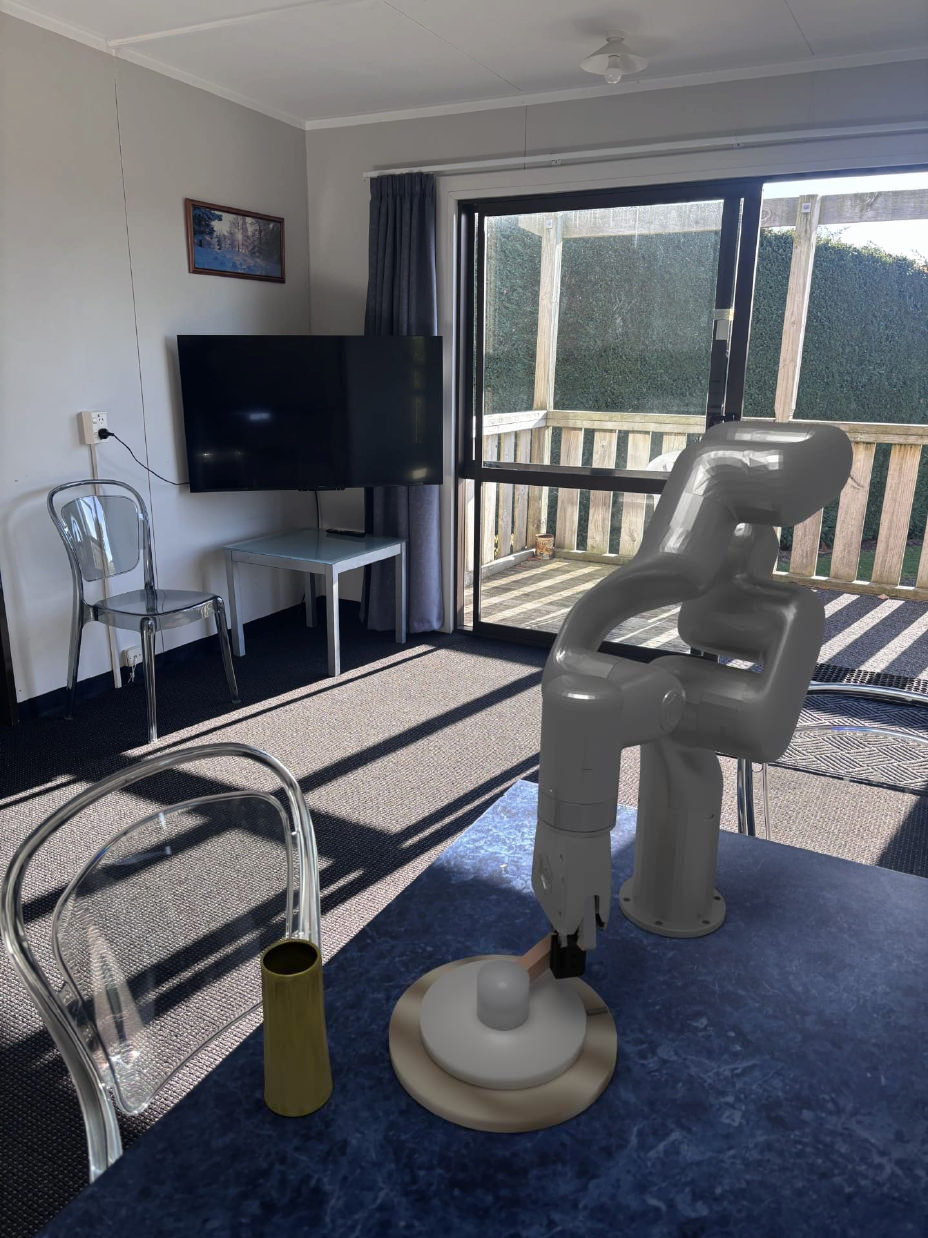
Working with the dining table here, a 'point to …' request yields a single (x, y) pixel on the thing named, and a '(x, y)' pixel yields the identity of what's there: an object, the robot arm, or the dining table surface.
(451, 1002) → the dial
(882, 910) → the dining table surface
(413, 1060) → the dial base
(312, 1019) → the vase
